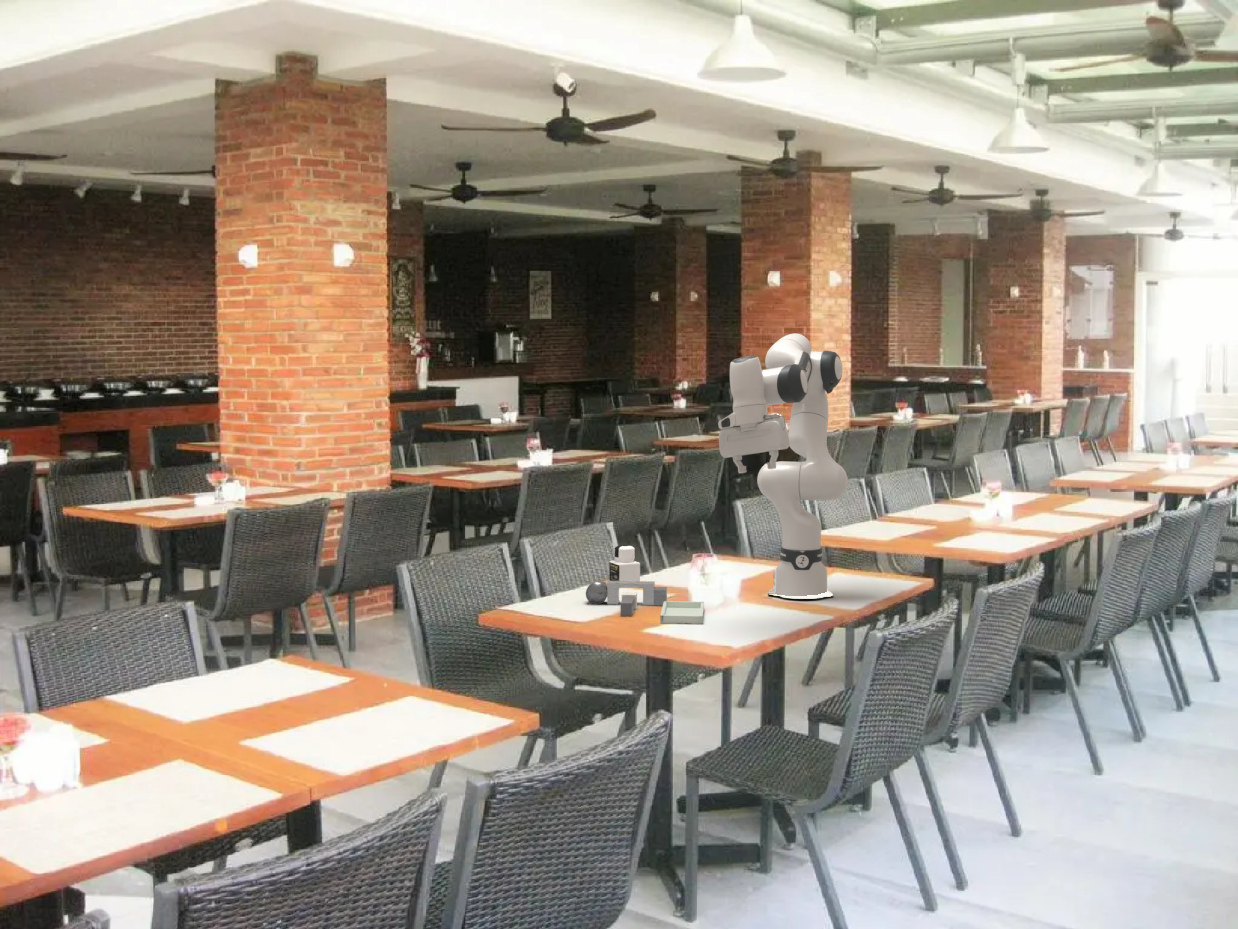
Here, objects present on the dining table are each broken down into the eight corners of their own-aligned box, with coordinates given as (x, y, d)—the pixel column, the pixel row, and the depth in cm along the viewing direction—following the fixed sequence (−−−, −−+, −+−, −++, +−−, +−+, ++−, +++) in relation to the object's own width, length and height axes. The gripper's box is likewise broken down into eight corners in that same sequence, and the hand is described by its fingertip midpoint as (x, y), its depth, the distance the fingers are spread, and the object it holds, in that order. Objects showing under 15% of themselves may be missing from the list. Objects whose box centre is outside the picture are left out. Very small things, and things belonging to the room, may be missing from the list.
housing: (587, 601, 376) (587, 580, 376) (667, 602, 374) (667, 581, 374) (585, 604, 371) (585, 583, 371) (666, 605, 370) (666, 584, 369)
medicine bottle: (608, 584, 404) (609, 544, 403) (630, 582, 407) (630, 543, 406) (618, 587, 397) (618, 548, 396) (640, 586, 400) (640, 546, 399)
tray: (663, 608, 366) (663, 601, 366) (703, 609, 365) (703, 601, 365) (660, 623, 346) (660, 615, 346) (702, 624, 345) (702, 616, 345)
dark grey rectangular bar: (622, 606, 369) (622, 592, 369) (637, 606, 369) (637, 592, 368) (618, 616, 355) (618, 601, 355) (633, 616, 355) (633, 601, 355)
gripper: (791, 412, 340) (797, 465, 339) (727, 423, 354) (733, 474, 353) (776, 412, 335) (783, 466, 335) (713, 423, 349) (719, 475, 348)
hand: (757, 471), depth 344 cm, fingers open, 8 cm apart
